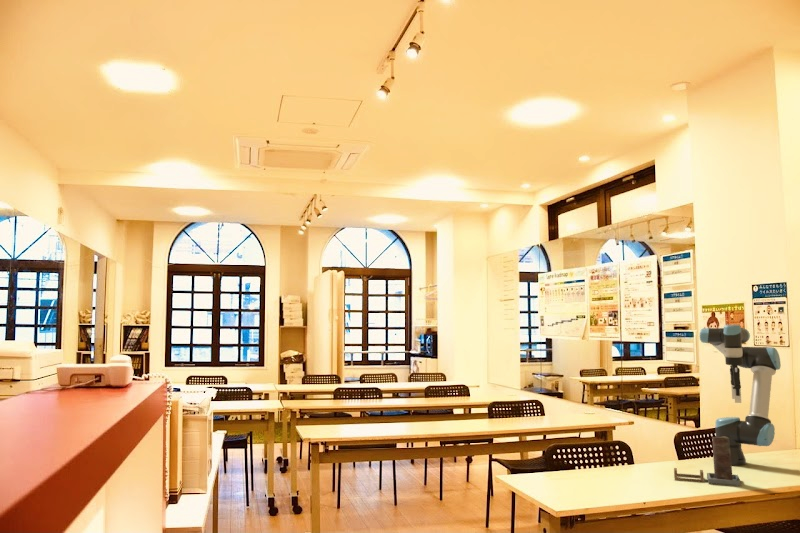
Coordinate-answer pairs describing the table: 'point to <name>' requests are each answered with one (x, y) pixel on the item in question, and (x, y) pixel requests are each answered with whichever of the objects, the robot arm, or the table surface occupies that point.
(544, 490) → the table surface
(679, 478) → the cradle
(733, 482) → the tray
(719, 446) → the dark brown tall block
